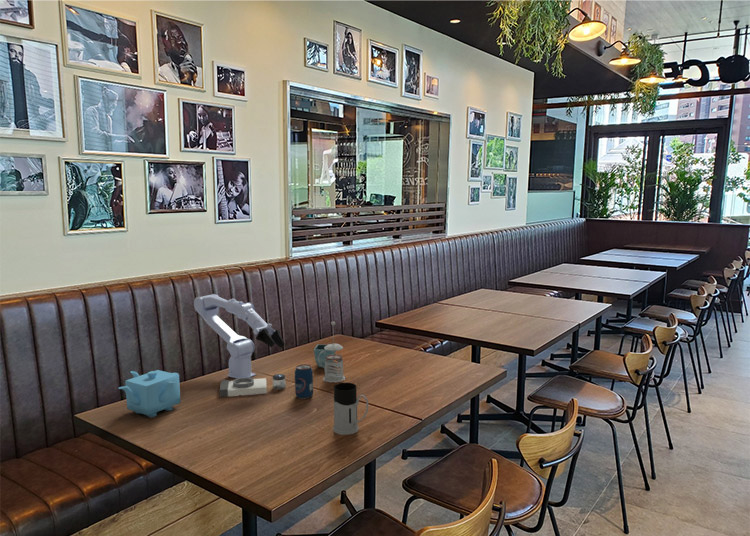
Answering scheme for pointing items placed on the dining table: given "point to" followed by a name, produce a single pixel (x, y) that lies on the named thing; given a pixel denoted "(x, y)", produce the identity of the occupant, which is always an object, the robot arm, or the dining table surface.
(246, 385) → the camera body
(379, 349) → the dining table surface
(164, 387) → the teakettle
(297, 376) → the soda can
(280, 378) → the lens
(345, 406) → the grey and black mug
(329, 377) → the french press
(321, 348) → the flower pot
